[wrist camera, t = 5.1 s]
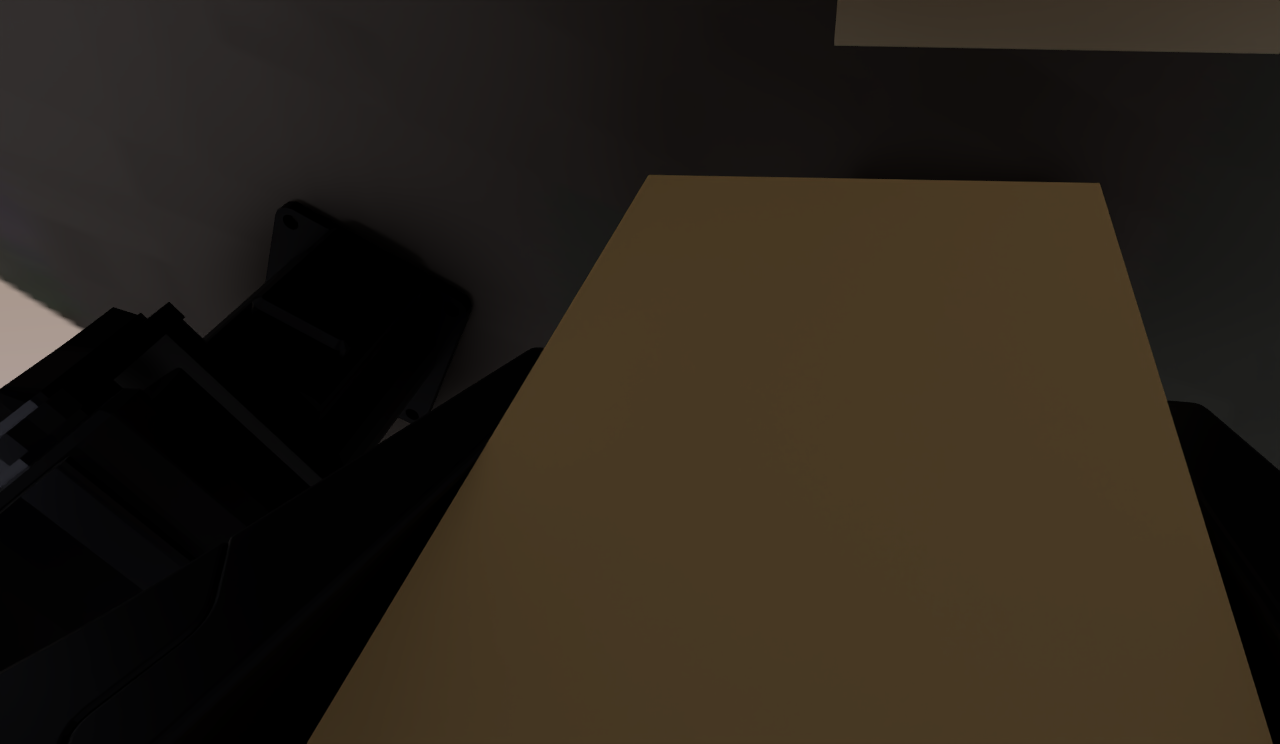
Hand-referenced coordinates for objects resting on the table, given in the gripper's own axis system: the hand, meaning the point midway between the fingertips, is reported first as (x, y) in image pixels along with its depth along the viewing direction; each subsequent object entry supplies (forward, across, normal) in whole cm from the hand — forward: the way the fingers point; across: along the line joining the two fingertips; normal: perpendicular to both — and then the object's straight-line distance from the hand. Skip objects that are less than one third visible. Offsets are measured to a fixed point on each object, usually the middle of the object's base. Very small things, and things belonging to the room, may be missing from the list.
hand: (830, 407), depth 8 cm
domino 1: (+3, 0, 0) cm, 3 cm away
